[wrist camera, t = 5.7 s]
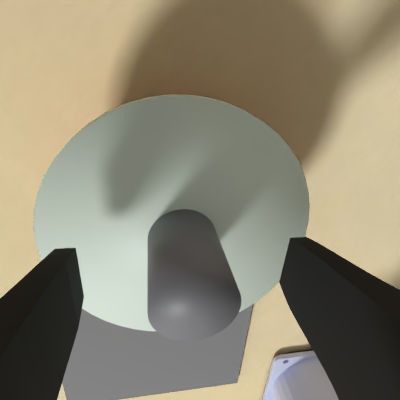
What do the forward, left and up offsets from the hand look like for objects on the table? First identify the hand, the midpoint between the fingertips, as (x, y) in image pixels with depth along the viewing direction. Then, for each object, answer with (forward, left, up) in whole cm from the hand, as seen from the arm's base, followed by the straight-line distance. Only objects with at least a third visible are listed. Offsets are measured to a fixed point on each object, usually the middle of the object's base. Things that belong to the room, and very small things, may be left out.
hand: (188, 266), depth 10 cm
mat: (+1, +13, -7) cm, 15 cm away
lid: (0, 0, -3) cm, 3 cm away
